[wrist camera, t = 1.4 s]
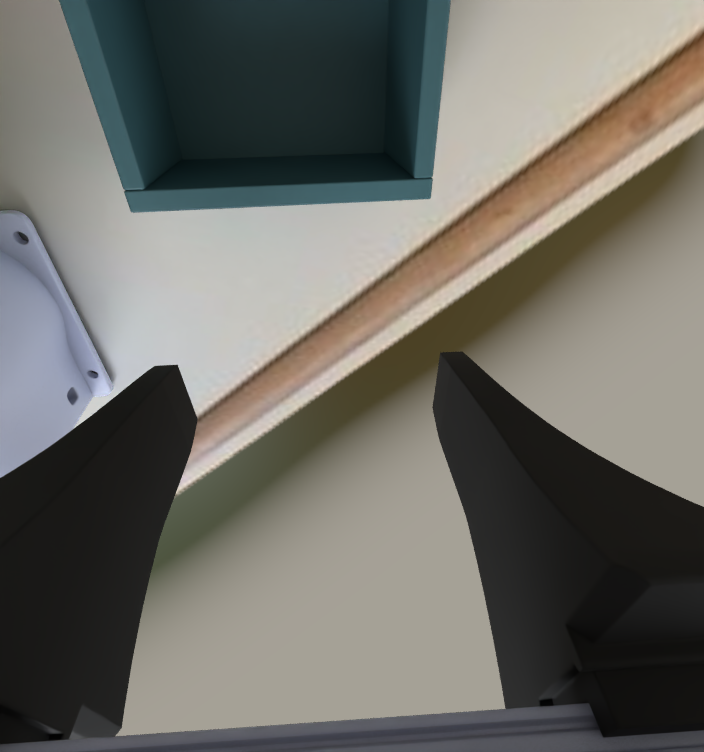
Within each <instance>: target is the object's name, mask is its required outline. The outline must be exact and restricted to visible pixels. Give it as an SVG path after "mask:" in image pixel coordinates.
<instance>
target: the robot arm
mask: <svg viewBox="0 0 704 752" xmlns="http://www.w3.org/2000/svg"><path fill="white" fill-rule="evenodd" d="M18 232H22V233H23V234H25V235H26V236H27V237H28V241H25V240H23V239H22V238H21V237H20V236H19V233H18ZM91 370H93V371H95V372H97V373H98V374H95V373H93V372H91ZM112 389H113V384H112V382H111V380H110V378H109V376H108V374H107V372H106V370H105V368H104V366H103V364H102V362H101V360H100V358H99V356H98V354H97V352H96V350H95V348H94V346H93V344H92V342H91V340H90V338H89V336H88V334H87V332H86V330H85V328H84V326H83V324H82V322H81V320H80V318H79V316H78V314H77V312H76V310H75V308H74V306H73V304H72V302H71V300H70V298H69V296H68V294H67V292H66V290H65V288H64V286H63V284H62V282H61V280H60V278H59V276H58V273H57V271H56V269H55V267H54V265H53V263H52V261H51V259H50V257H49V255H48V253H47V251H46V249H45V247H44V245H43V243H42V241H41V239H40V237H39V235H38V233H37V231H36V229H35V227H34V225H33V223H32V222H31V220H30V219H29V217H27V216H26V215H25V214H24V213H22V212H19V211H16V210H2V211H0V752H704V507H702V506H700V505H698V504H695V503H693V502H690V501H688V500H686V499H684V498H682V497H679V496H678V495H675V494H673V493H671V492H669V491H667V490H665V489H663V488H661V487H658V486H656V485H654V484H652V483H650V482H648V481H646V480H644V479H642V478H640V477H638V476H636V475H634V474H632V473H630V472H628V471H626V470H625V469H623V468H621V467H619V466H617V465H615V464H614V463H612V462H610V461H608V460H606V459H605V458H603V457H601V456H599V455H597V454H596V453H594V452H592V451H591V450H589V449H587V448H585V447H584V446H582V445H581V444H579V443H578V442H576V441H575V440H573V439H571V438H570V437H568V436H567V435H565V434H564V433H562V432H560V431H559V430H557V429H556V428H555V427H553V426H552V425H550V424H549V423H547V422H546V421H545V420H543V419H542V418H541V417H539V416H538V415H537V414H535V413H534V412H533V411H531V410H530V409H529V408H527V407H526V406H525V405H523V404H522V403H521V402H520V401H518V400H517V399H516V398H515V397H514V396H512V395H511V394H510V393H509V392H508V391H506V390H505V389H504V388H503V387H501V386H500V385H499V384H498V383H497V382H496V381H495V380H493V379H492V378H491V377H490V376H489V375H488V374H487V373H485V371H484V370H482V369H481V368H480V367H479V366H478V365H477V364H476V363H475V362H474V361H472V360H471V359H470V358H469V357H468V356H467V355H466V354H464V353H463V352H443V353H440V359H439V366H438V373H437V381H436V387H435V395H434V401H433V412H434V417H435V422H436V427H437V431H438V436H439V439H440V443H441V445H442V448H443V452H444V454H445V457H446V460H447V462H448V466H449V468H450V472H451V474H452V477H453V480H454V483H455V486H456V489H457V491H458V494H459V497H460V500H461V503H462V506H463V509H464V512H465V515H466V518H467V522H468V526H469V529H470V534H471V538H472V542H473V546H474V551H475V555H476V559H477V563H478V568H479V573H480V577H481V582H482V586H483V590H484V595H485V600H486V605H487V610H488V614H489V620H490V625H491V630H492V635H493V640H494V645H495V651H496V656H497V662H498V667H499V673H500V678H501V684H502V690H503V696H504V702H505V708H506V709H499V710H485V711H471V712H456V713H442V714H429V715H428V714H427V715H413V716H400V717H385V718H370V719H356V720H342V721H329V722H328V721H327V722H313V723H299V724H285V725H271V726H257V727H243V728H228V729H213V730H199V731H185V732H171V733H157V734H144V735H143V734H142V735H128V736H115V735H116V734H117V733H118V732H119V730H120V729H121V728H122V721H123V714H124V707H125V701H126V695H127V689H128V683H129V677H130V670H131V664H132V659H133V653H134V648H135V643H136V638H137V633H138V628H139V623H140V618H141V613H142V608H143V604H144V600H145V595H146V590H147V586H148V582H149V577H150V573H151V569H152V566H153V562H154V558H155V553H156V549H157V546H158V542H159V538H160V535H161V532H162V529H163V526H164V523H165V520H166V518H167V515H168V512H169V510H170V507H171V504H172V502H173V499H174V496H175V494H176V491H177V488H178V486H179V483H180V480H181V477H182V475H183V472H184V469H185V466H186V464H187V461H188V458H189V455H190V452H191V448H192V444H193V440H194V435H195V430H196V425H197V416H196V414H195V411H194V408H193V406H192V403H191V400H190V397H189V395H188V392H187V389H186V387H185V384H184V381H183V378H182V376H181V373H180V370H179V368H178V365H165V366H154V367H153V368H151V369H150V370H148V371H147V372H146V373H144V374H143V375H142V376H141V377H139V378H138V379H137V380H135V381H134V382H133V383H132V384H130V385H129V386H128V387H127V388H126V389H124V390H123V391H122V392H121V393H119V394H118V395H117V396H116V397H114V398H113V399H112V400H111V401H109V402H108V403H107V404H106V405H104V406H103V407H102V408H101V409H99V410H98V411H97V412H96V413H94V414H93V415H92V416H90V417H89V418H88V419H86V420H85V421H84V422H82V423H81V424H80V425H78V426H77V427H76V428H74V426H75V425H76V423H77V422H78V420H79V418H80V417H81V415H82V413H83V412H84V410H85V409H86V407H87V405H88V404H89V402H90V400H91V399H92V397H97V396H106V395H109V394H110V393H111V391H112ZM73 428H74V429H73Z"/></svg>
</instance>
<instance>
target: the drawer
mask: <svg viewBox="0 0 704 752" xmlns="http://www.w3.org/2000/svg"><path fill="white" fill-rule="evenodd" d="M59 2H60V5H61V8H62V10H63V13H64V16H65V19H66V22H67V25H68V28H69V31H70V34H71V37H72V40H73V43H74V46H75V49H76V51H77V54H78V57H79V60H80V63H81V66H82V69H83V72H84V75H85V78H86V81H87V84H88V87H89V89H90V92H91V95H92V98H93V101H94V104H95V107H96V110H97V113H98V116H99V119H100V122H101V125H102V127H103V130H104V133H105V136H106V139H107V142H108V145H109V148H110V151H111V154H112V157H113V160H114V163H115V166H116V168H117V171H118V174H119V177H120V180H121V183H122V186H123V188H124V190H126V191H125V192H124V193H125V196H126V199H127V202H128V204H129V207H130V210H131V212H133V213H135V212H157V211H179V210H200V209H222V208H244V207H265V206H287V205H309V204H330V203H352V202H374V201H395V200H417V199H430V198H431V190H432V181H433V179H432V178H431V177H432V176H433V169H434V159H435V149H436V139H437V130H438V120H439V110H440V100H441V90H442V81H443V71H444V61H445V51H446V41H447V32H448V22H449V12H450V2H451V0H59Z"/></svg>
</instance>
